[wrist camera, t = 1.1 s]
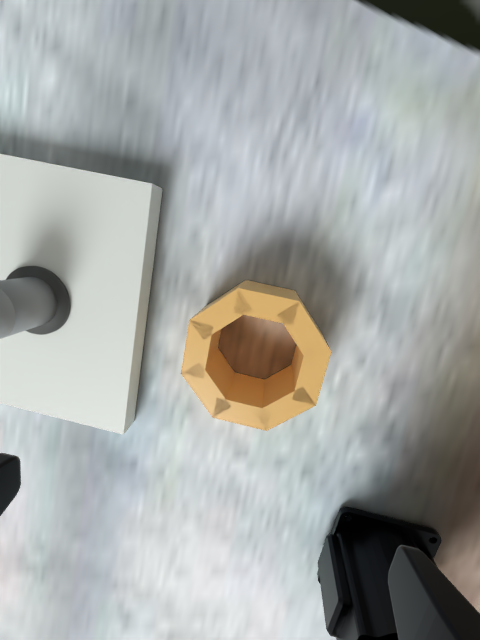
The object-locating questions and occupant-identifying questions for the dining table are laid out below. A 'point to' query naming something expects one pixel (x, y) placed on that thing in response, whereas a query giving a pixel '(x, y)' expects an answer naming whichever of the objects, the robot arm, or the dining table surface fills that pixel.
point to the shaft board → (74, 290)
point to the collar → (246, 391)
